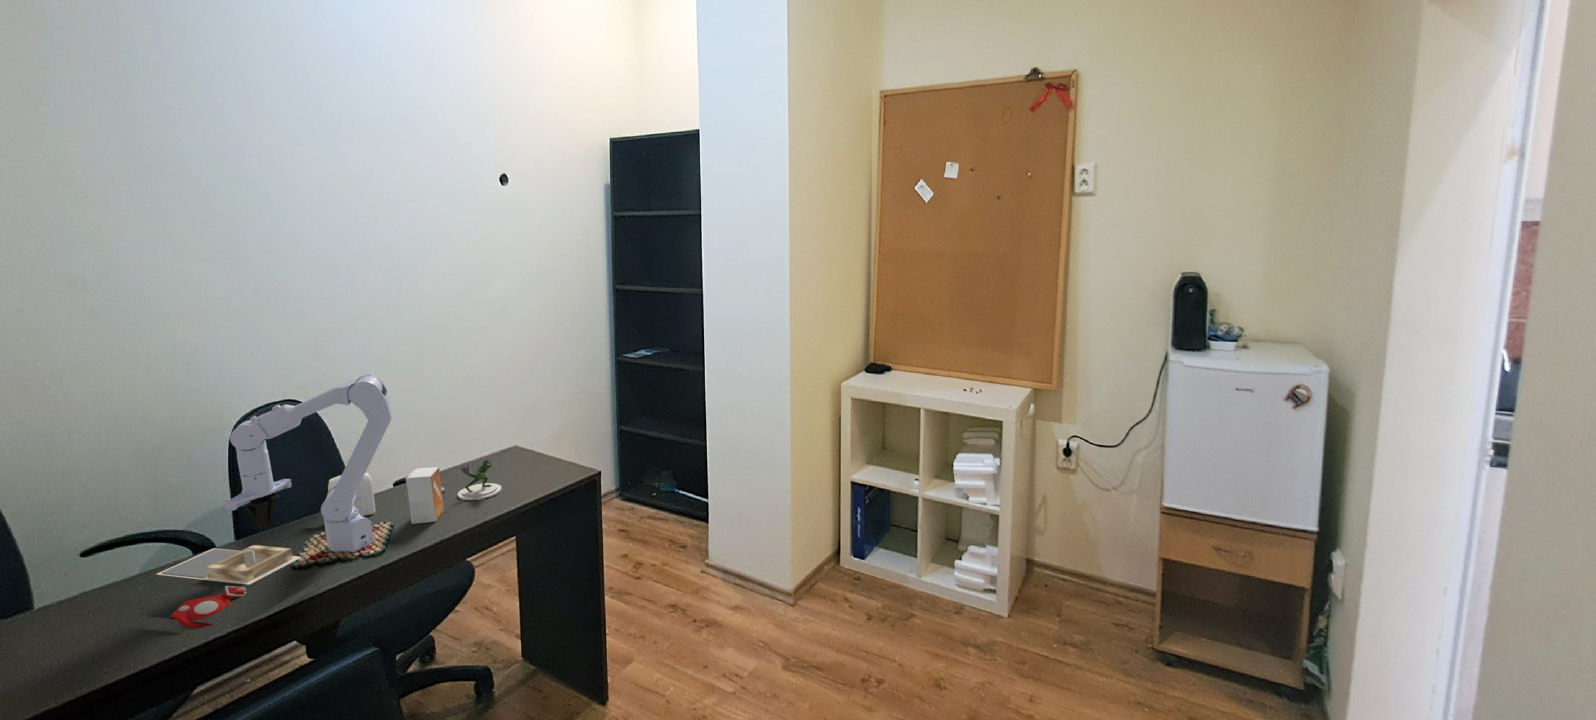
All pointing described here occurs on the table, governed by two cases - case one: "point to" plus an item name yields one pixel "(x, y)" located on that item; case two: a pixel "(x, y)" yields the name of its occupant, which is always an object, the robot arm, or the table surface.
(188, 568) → the board
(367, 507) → the photo printer
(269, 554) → the beige rectangular frame
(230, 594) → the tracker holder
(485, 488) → the monster figurine
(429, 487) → the small box
